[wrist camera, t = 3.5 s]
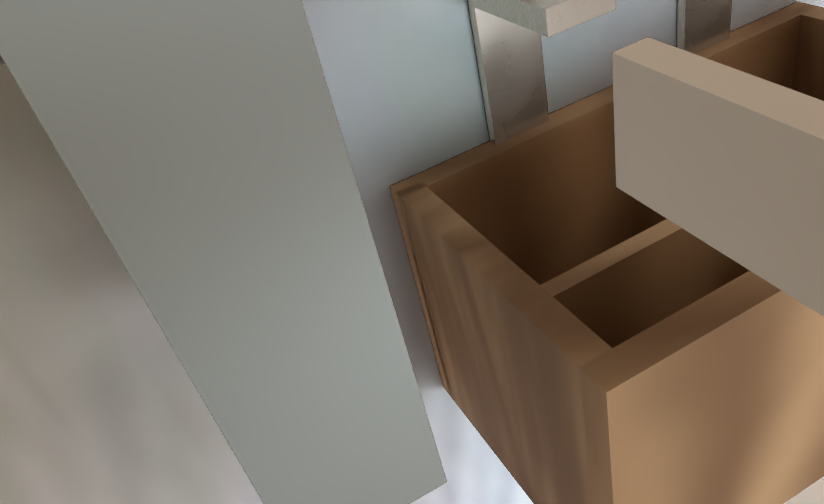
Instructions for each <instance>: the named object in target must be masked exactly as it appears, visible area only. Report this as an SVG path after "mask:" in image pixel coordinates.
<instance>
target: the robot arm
mask: <svg viewBox="0 0 824 504" xmlns="http://www.w3.org/2000/svg"><path fill="white" fill-rule="evenodd" d="M612 70H613V102H614V134H615V166H616V187H617V188H619V189H620V190H622V191H624V192H625V193H627V194H628V195H630V196H632V197H633V198H635V199H636V200H638V201H640V202H641V203H643V204H644V205H646V206H648V207H649V208H651V209H652V210H654V211H656V212H657V213H659V214H660V215H662V216H663V217H665V218H667V219H668V220H670V221H671V222H673V223H675V224H676V225H678V226H679V227H681V228H683V229H684V230H686V231H687V232H689V233H691V234H692V235H694V236H695V237H697V238H699V239H700V240H702V241H703V242H705V243H707V244H708V245H710V246H711V247H713V248H715V249H716V250H718V251H719V252H721V253H723V254H724V255H726V256H727V257H729V258H731V259H732V260H734V261H735V262H737V263H739V264H740V265H742V266H743V267H745V268H746V269H748V270H750V271H751V272H753V273H754V274H756V275H758V276H759V277H761V278H762V279H764V280H766V281H767V282H769V283H770V284H772V285H774V286H775V287H777V288H778V289H780V290H782V291H783V292H785V293H786V294H788V295H790V296H791V297H793V298H794V299H796V300H798V301H799V302H801V303H802V304H804V305H806V306H807V307H809V308H810V309H812V310H814V311H815V312H817V313H818V314H820V315H822V316H823V317H824V101H822V100H819V99H817V98H814V97H811V96H808V95H806V94H803V93H800V92H797V91H795V90H792V89H789V88H786V87H784V86H781V85H778V84H775V83H773V82H770V81H767V80H764V79H762V78H759V77H756V76H753V75H751V74H748V73H745V72H742V71H740V70H737V69H734V68H731V67H729V66H726V65H723V64H720V63H718V62H715V61H712V60H709V59H707V58H704V57H701V56H698V55H696V54H693V53H690V52H688V51H685V50H682V49H679V48H677V47H674V46H671V45H668V44H666V43H663V42H660V41H657V40H655V39H652V38H649V37H647V38H645V39H642V40H640V41H638V42H635V43H633V44H631V45H628V46H626V47H624V48H621V49H619V50H617V51H615V52H612Z"/></svg>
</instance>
